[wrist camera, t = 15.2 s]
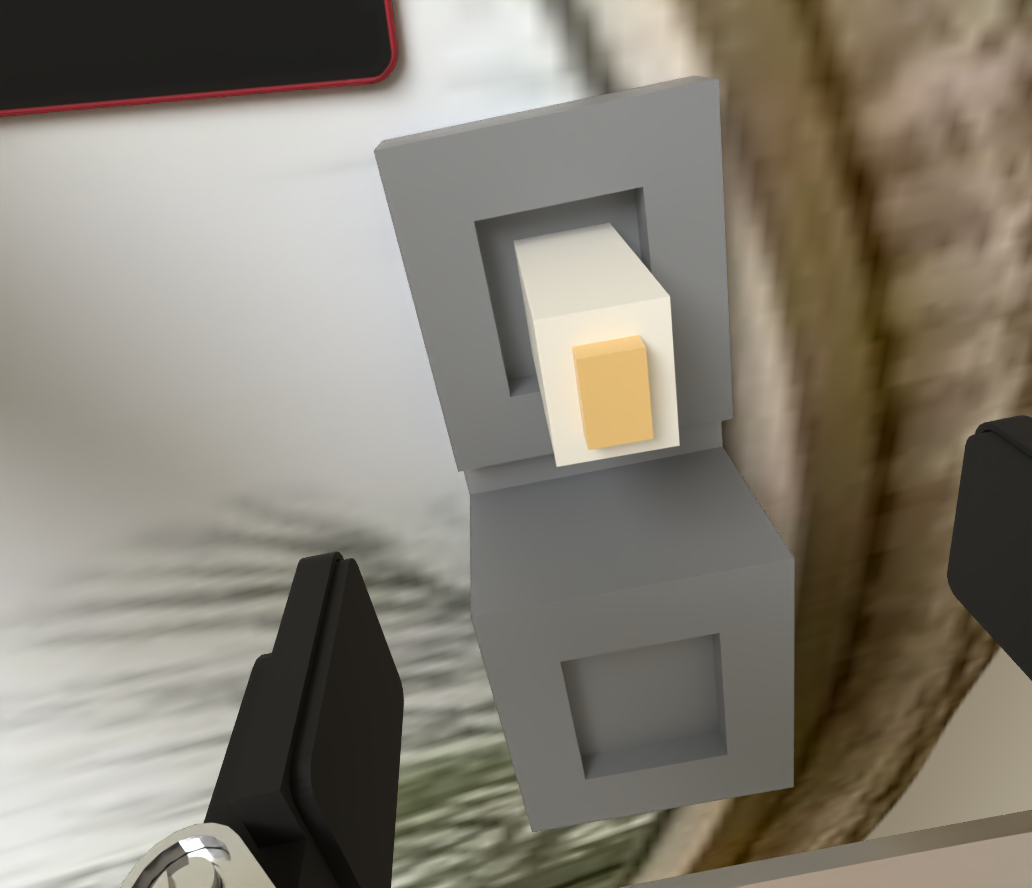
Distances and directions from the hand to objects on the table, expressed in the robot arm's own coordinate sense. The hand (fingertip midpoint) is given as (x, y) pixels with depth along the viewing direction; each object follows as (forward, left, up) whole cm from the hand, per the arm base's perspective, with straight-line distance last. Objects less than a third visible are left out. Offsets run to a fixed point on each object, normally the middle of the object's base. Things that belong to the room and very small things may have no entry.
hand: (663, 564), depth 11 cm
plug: (0, 0, -15) cm, 15 cm away
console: (+7, 0, -16) cm, 18 cm away
